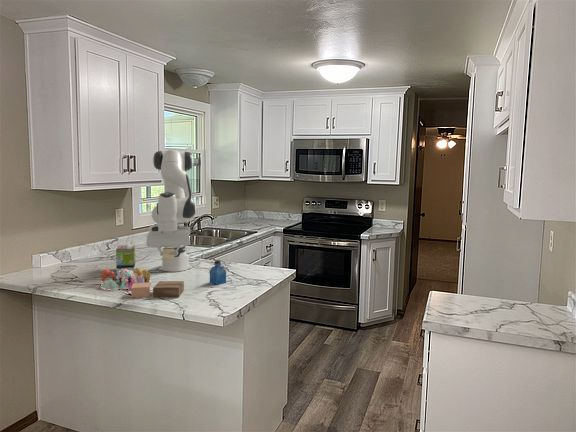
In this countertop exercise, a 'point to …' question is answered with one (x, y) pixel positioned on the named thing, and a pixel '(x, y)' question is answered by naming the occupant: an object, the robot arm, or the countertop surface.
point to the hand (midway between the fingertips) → (168, 255)
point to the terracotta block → (140, 290)
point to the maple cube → (168, 253)
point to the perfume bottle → (217, 273)
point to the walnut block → (168, 289)
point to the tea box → (125, 257)
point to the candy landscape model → (124, 278)
